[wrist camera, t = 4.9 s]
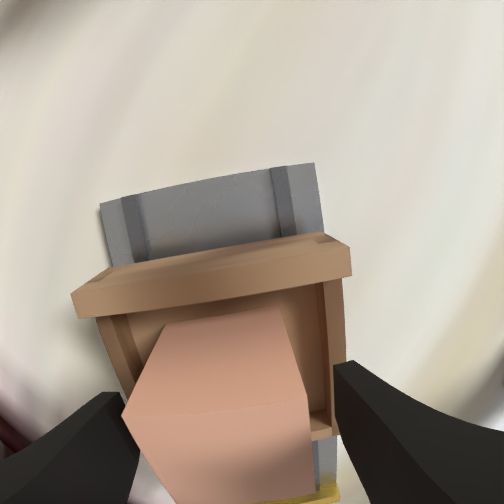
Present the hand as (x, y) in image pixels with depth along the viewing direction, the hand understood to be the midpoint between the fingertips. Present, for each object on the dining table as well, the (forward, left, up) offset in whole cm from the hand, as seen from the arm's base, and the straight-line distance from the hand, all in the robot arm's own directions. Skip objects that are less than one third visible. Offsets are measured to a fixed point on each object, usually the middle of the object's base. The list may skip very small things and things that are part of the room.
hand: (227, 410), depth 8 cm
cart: (0, 0, -6) cm, 6 cm away
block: (0, 0, -3) cm, 3 cm away
